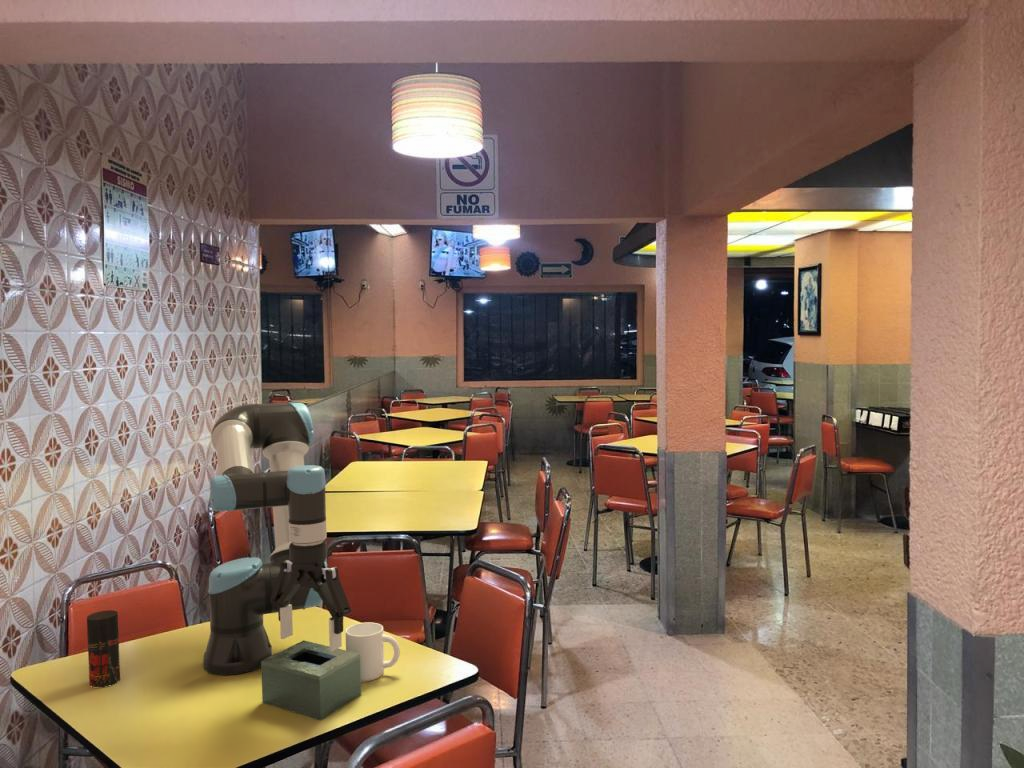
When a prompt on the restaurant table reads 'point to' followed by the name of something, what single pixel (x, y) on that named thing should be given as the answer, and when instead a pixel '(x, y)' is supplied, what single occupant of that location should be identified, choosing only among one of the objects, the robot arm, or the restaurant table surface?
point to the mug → (370, 648)
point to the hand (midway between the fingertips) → (310, 642)
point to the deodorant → (103, 648)
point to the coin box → (311, 679)
